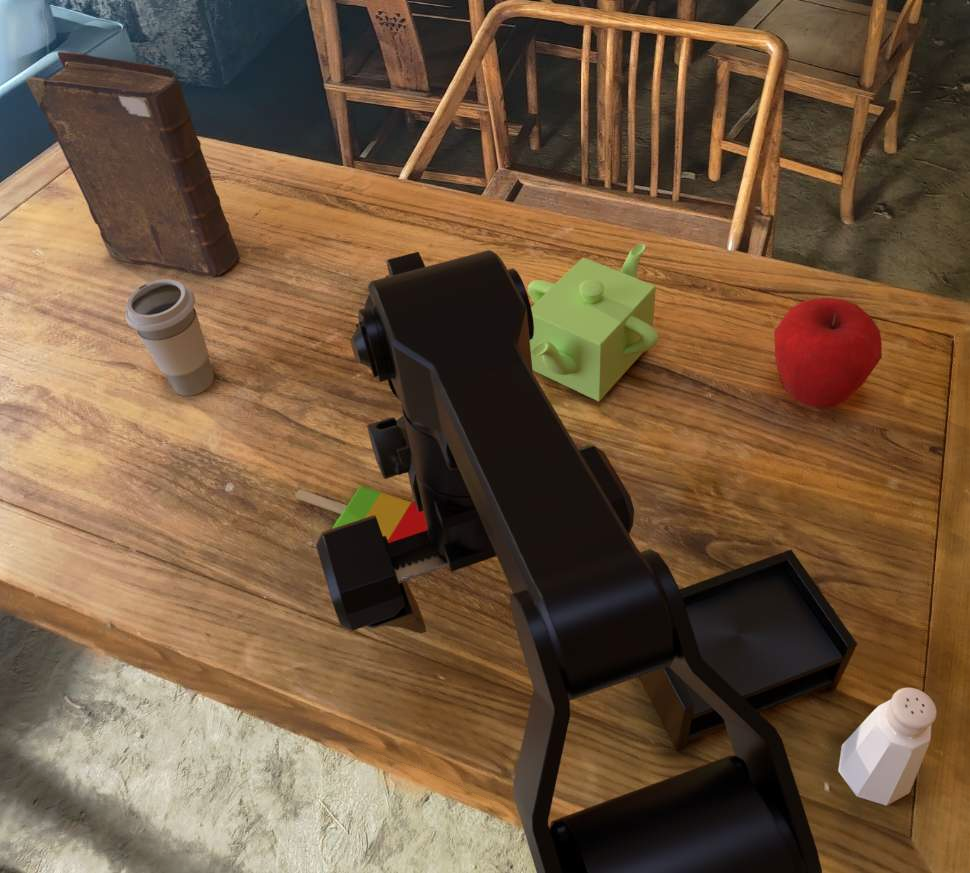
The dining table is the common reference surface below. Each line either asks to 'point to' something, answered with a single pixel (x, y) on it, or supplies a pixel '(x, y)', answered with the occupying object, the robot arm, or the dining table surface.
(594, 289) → the teapot
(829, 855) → the dining table surface
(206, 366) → the cup
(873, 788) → the salt shaker
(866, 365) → the apple
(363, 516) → the popsicle
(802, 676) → the black open box
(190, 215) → the book
